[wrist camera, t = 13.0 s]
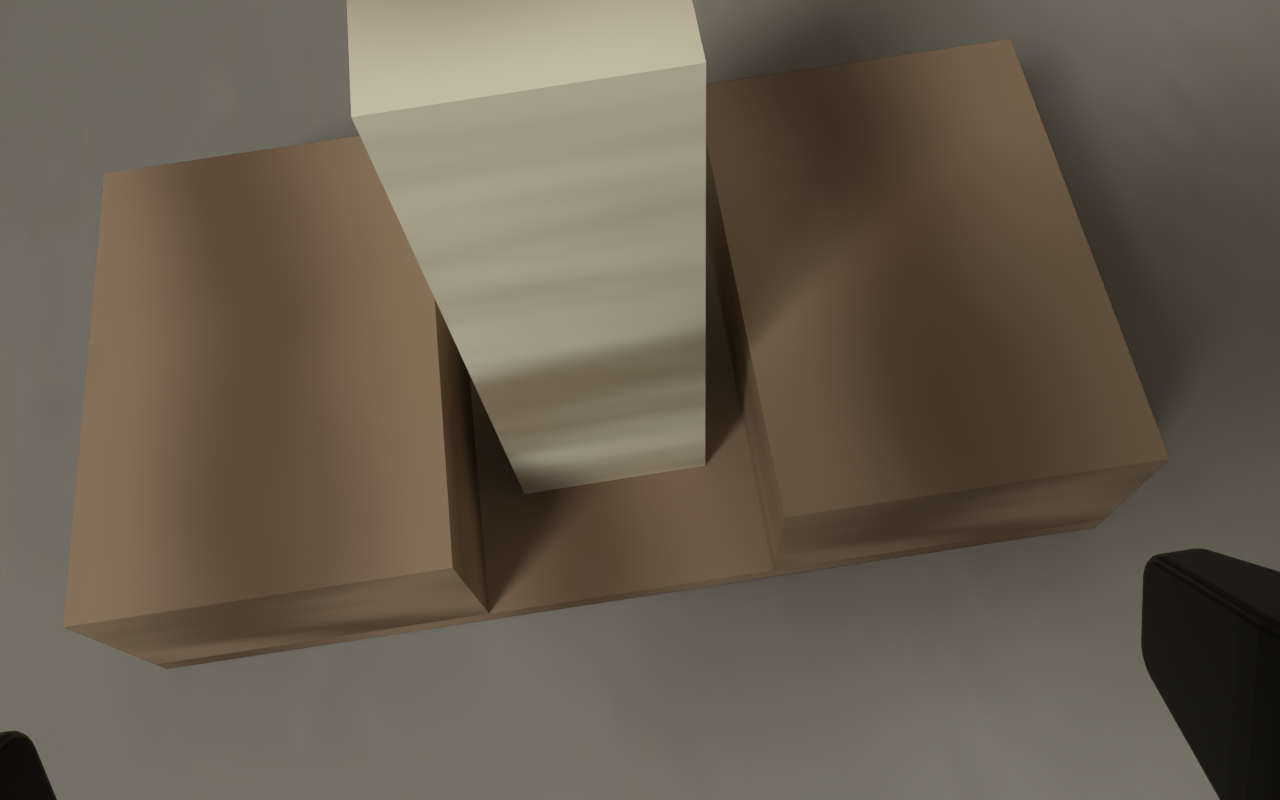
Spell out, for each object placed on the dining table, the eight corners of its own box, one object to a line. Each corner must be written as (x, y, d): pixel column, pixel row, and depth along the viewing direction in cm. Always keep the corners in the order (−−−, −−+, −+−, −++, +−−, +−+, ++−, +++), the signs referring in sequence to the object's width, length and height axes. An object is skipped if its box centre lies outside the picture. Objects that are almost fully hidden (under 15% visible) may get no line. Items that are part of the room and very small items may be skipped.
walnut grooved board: (969, 153, 27) (1010, 39, 23) (1095, 527, 23) (1169, 459, 19) (185, 270, 27) (103, 173, 23) (166, 669, 22) (62, 627, 19)
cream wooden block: (705, 465, 23) (706, 62, 12) (524, 494, 23) (350, 117, 12) (669, 272, 25) (640, -228, 14) (503, 298, 25) (340, -182, 14)
